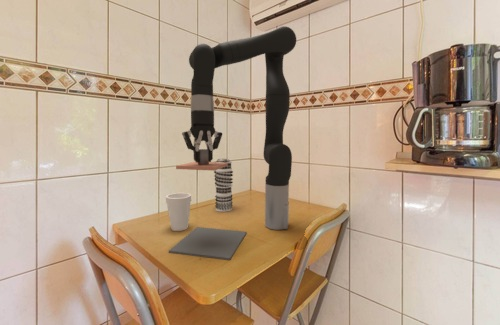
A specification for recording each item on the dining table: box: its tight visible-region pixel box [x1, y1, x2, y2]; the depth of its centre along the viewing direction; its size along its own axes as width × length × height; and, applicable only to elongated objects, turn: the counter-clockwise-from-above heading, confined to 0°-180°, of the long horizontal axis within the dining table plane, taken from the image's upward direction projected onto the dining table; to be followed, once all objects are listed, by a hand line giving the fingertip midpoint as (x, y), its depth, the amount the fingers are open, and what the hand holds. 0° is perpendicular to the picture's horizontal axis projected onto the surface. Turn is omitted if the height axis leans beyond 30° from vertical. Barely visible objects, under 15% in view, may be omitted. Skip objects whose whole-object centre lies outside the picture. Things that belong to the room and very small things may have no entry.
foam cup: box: [165, 192, 192, 232], centre depth 93 cm, size 10×9×13 cm
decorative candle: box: [213, 158, 234, 213], centre depth 117 cm, size 9×9×25 cm
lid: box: [175, 148, 228, 172], centre depth 80 cm, size 13×13×6 cm
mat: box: [168, 226, 247, 261], centre depth 82 cm, size 20×20×1 cm
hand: (203, 161), depth 81 cm, fingers closed on lid, 3 cm apart
